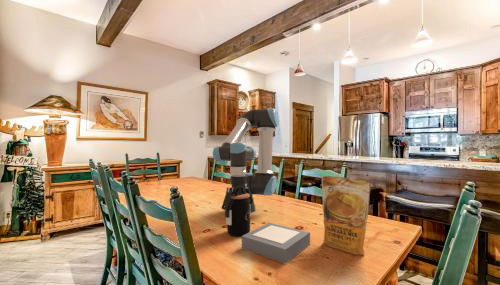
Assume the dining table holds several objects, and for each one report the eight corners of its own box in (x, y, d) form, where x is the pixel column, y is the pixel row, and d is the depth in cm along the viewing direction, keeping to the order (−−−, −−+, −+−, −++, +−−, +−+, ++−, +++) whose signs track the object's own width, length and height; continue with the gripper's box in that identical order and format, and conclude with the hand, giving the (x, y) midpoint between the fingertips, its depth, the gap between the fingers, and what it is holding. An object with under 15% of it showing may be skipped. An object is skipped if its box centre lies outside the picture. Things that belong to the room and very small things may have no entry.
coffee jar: (249, 237, 106) (249, 197, 106) (226, 237, 106) (225, 197, 106) (250, 228, 117) (250, 192, 117) (228, 228, 117) (228, 192, 117)
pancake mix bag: (325, 239, 104) (324, 174, 104) (372, 253, 90) (371, 179, 90) (317, 243, 99) (317, 176, 99) (365, 259, 85) (365, 181, 86)
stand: (241, 248, 95) (241, 235, 95) (269, 233, 110) (269, 222, 110) (285, 263, 82) (285, 248, 82) (310, 244, 98) (309, 231, 98)
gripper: (225, 179, 100) (225, 229, 99) (260, 173, 119) (260, 215, 119) (213, 177, 104) (213, 226, 104) (248, 172, 124) (248, 213, 124)
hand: (238, 220), depth 112 cm, fingers open, 13 cm apart
